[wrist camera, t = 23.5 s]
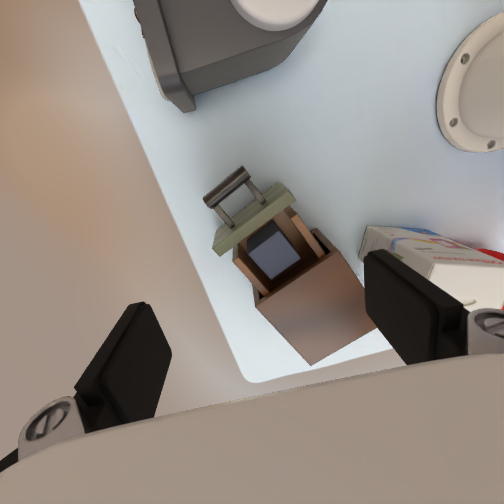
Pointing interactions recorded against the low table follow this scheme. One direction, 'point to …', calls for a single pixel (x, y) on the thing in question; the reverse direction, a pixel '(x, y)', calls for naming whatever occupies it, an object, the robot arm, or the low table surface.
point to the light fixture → (218, 40)
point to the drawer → (254, 219)
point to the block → (272, 250)
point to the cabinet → (318, 306)
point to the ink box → (443, 264)
